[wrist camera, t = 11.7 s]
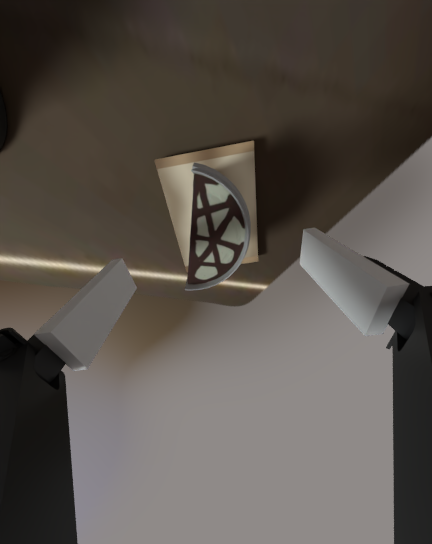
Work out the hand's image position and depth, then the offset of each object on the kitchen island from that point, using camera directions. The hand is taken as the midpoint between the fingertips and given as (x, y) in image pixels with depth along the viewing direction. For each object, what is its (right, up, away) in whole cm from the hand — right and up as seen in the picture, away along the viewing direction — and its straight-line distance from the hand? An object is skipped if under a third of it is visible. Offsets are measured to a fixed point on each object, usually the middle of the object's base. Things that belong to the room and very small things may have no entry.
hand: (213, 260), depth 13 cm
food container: (0, +7, +12) cm, 14 cm away
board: (0, +8, +13) cm, 15 cm away
